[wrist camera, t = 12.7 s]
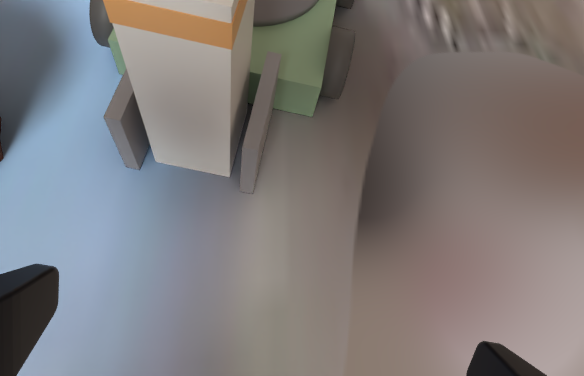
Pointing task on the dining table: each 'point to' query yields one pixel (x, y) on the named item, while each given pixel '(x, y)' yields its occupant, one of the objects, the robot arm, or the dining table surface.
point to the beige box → (188, 75)
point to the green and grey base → (251, 74)
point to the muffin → (0, 153)
